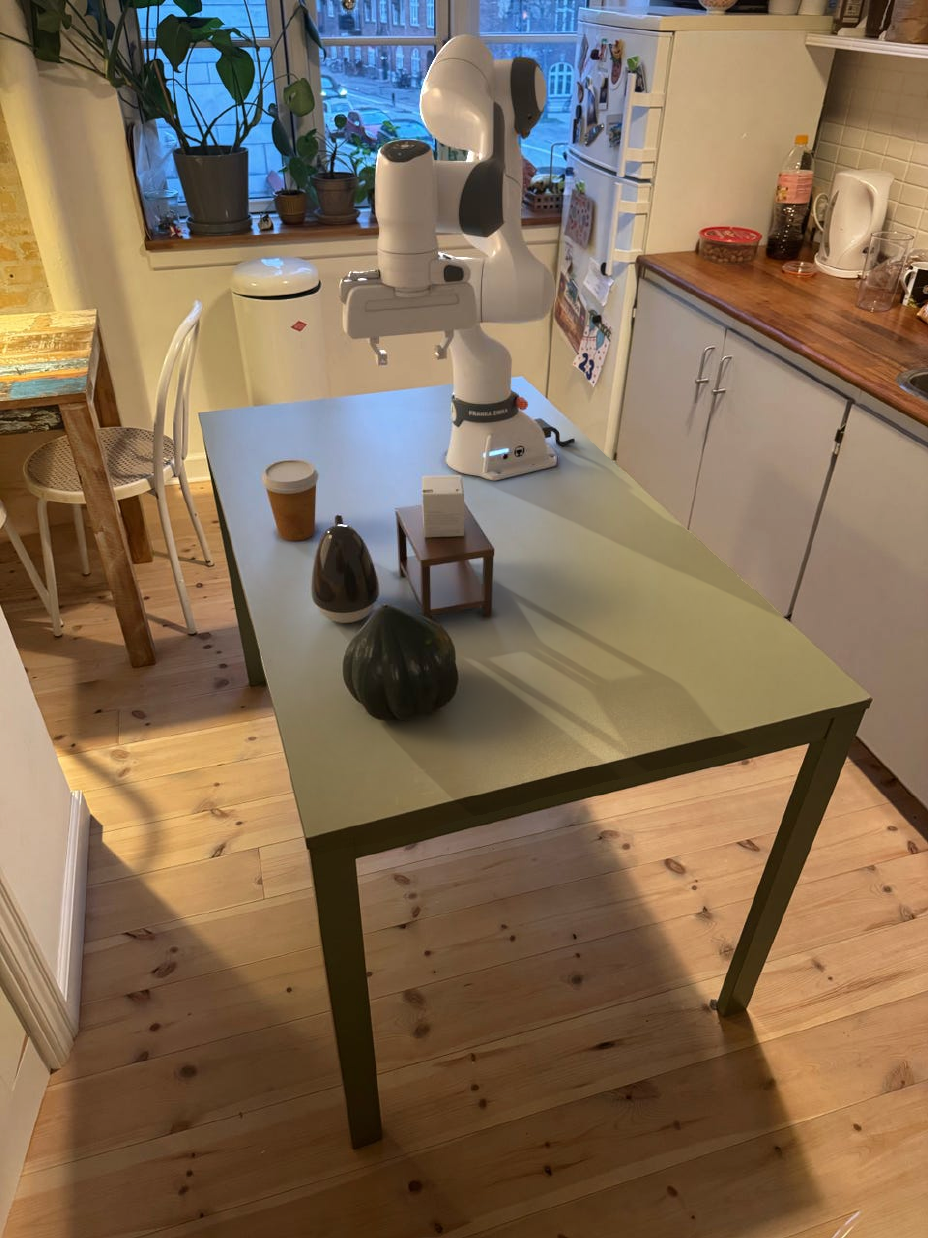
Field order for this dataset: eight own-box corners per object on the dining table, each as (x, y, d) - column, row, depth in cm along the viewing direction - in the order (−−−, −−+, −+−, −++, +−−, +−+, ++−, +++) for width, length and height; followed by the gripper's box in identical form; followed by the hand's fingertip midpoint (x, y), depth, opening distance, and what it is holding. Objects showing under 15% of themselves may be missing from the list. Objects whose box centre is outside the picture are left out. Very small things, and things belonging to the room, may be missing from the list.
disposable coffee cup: (334, 525, 157) (328, 464, 150) (304, 550, 150) (297, 487, 143) (289, 514, 160) (281, 453, 153) (258, 538, 153) (248, 476, 146)
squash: (462, 716, 108) (453, 595, 110) (341, 726, 108) (333, 604, 109) (459, 715, 122) (451, 608, 124) (351, 724, 122) (344, 616, 123)
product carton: (462, 517, 135) (462, 473, 131) (464, 537, 130) (464, 493, 126) (422, 518, 135) (421, 474, 131) (423, 538, 130) (422, 493, 126)
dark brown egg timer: (377, 590, 140) (372, 506, 131) (383, 628, 132) (378, 541, 123) (312, 596, 139) (303, 511, 130) (315, 635, 131) (305, 547, 122)
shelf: (462, 562, 147) (462, 498, 140) (492, 615, 135) (494, 548, 128) (398, 572, 145) (395, 508, 138) (423, 628, 132) (421, 560, 125)
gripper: (342, 278, 123) (349, 374, 131) (480, 268, 128) (479, 361, 136) (334, 267, 128) (341, 360, 136) (468, 257, 133) (467, 348, 141)
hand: (411, 361), depth 136 cm, fingers open, 8 cm apart
